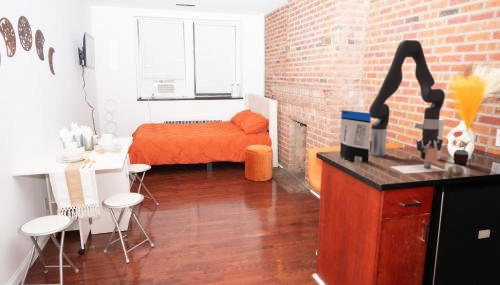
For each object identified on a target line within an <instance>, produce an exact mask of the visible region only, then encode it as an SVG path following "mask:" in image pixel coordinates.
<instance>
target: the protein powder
mask: <svg viewBox="0 0 500 285" xmlns="http://www.w3.org/2000/svg"><path fill="white" fill-rule="evenodd" d="M370 115H371V113H369V112H361V111H355V110H354V111H352V110H343V109H341V116H340V118H341V121H340V124H341V125H340V150H339V151H340V153H339V156H340V155H341V156H340V158H341V157H342V158H344V159H345V160H348V161H351V162H350V163H352V162H353V163H363V162H365V163H369V156H370V155H369V149H370V139H371V121H372V120H371V118H372V117H371V116H370ZM342 158H341V159H342ZM345 160H344V161H345ZM348 161H347V162H348Z"/></svg>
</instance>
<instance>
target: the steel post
mask: <svg viewBox="0 0 500 285" xmlns="http://www.w3.org/2000/svg"><path fill="white" fill-rule="evenodd" d="M423 165H424V168H426V169H431V165H432V162H426V161H423Z"/></svg>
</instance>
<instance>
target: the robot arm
mask: <svg viewBox="0 0 500 285" xmlns="http://www.w3.org/2000/svg"><path fill="white" fill-rule="evenodd" d="M423 49H424V48H423V47H422V44H421V42H420V41H418V40H415V39H414V40H413V39H405V40H404V39H403V40H402V41H401V42H399V44H398V46H397V48H396V50H395V53H394V57H393V58H392V62H391V64H390V67H389V68H388V72H387V74H386V76H385V78H384V80H383V82H382V85H381V87H380V89H379V91H378V93H377V95H376V97H375V99H374V100H373V102H372V104H371V105H370V107H369V111H368V113H371V115H370V116H371V118H373V119H377V120H376V121H375V122H374V123H373V122H372V124H371V125H370V139H369V156H374V157H375V156H376V157H383V156H385V155H386V146H387V130H388V129H387V128H388V124H389V119H390V106H389V104H387V103H386V101H387V100H388V99H389V98H390V97H391V96H393V95H394V94H395V93H396V92H397V91H398V90H399V88H400V86H401V84H402V82H403V70H402V69H403V68H402V67H403V64H404V63H405V60H406V58H412V60H413V61H414V63H415V71H414V75H415V78H416V81H417V82H418V85H419V87H420V88H419V89H420V95H421V98H422V100H423V101H424V102H425V103H427V104H430V106H428V107H426V108H425V109H424V113H423V122H422V135H421V136H422V138H421V139H417V140H416V148H417V149H416V151H417V152H418V151H419V152H420V153H421V159H425V152H426V148H428V147H430V146H431V147H433V148H438V151H439V150H441V151H442V147H443V146H442V145H443V142H444V140H443V138H442V139H438V138H437V137H438V134H439V118H440V116H441V114H440V113H441V110H442V108H443V104H444V102H445V98H446V94H445V92H444V90H443V89H441V88H432V87H433V86H434V85H435V83H436V81H435V79H434V77H433V75H432V73H431V71H430V69H429V67H428V64H427V60H426V56H425V53H424V50H423ZM436 142H437V144H436ZM441 146H442V147H441ZM423 148H424V150H423Z"/></svg>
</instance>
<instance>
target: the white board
mask: <svg viewBox="0 0 500 285" xmlns="http://www.w3.org/2000/svg"><path fill="white" fill-rule="evenodd" d="M390 168H391V169H393V170H396V171H398V172H399V173H402V174H415V173H417V174H418V173H429V172H442V171H443V172H444V171H445V172H446V171H447V170H446V169H443V168H441V167H437V166H435V165H432V164H431V169H426V168H424V164H413V165H397V166H394V165H393V166H390Z"/></svg>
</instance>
